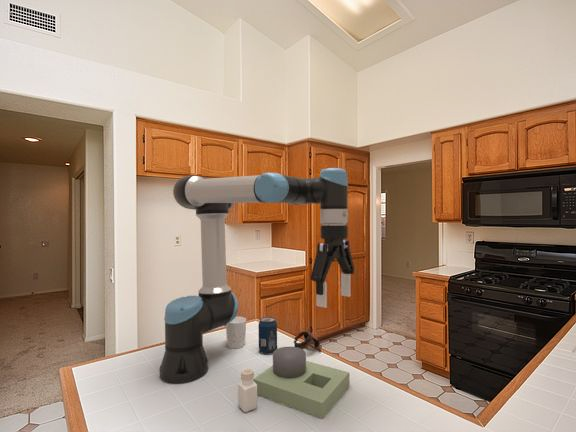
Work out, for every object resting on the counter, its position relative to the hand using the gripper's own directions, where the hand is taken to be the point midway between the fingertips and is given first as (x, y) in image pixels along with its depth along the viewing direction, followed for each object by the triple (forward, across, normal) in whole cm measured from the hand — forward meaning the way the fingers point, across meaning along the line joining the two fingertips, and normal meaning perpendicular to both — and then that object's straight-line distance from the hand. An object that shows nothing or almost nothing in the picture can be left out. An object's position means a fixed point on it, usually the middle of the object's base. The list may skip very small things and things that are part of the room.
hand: (334, 301), depth 87 cm
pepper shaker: (+27, -18, +16) cm, 36 cm away
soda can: (+27, +12, +35) cm, 46 cm away
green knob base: (+27, -2, +10) cm, 29 cm away
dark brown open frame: (+27, +22, +24) cm, 42 cm away
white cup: (+27, +8, +49) cm, 56 cm away
